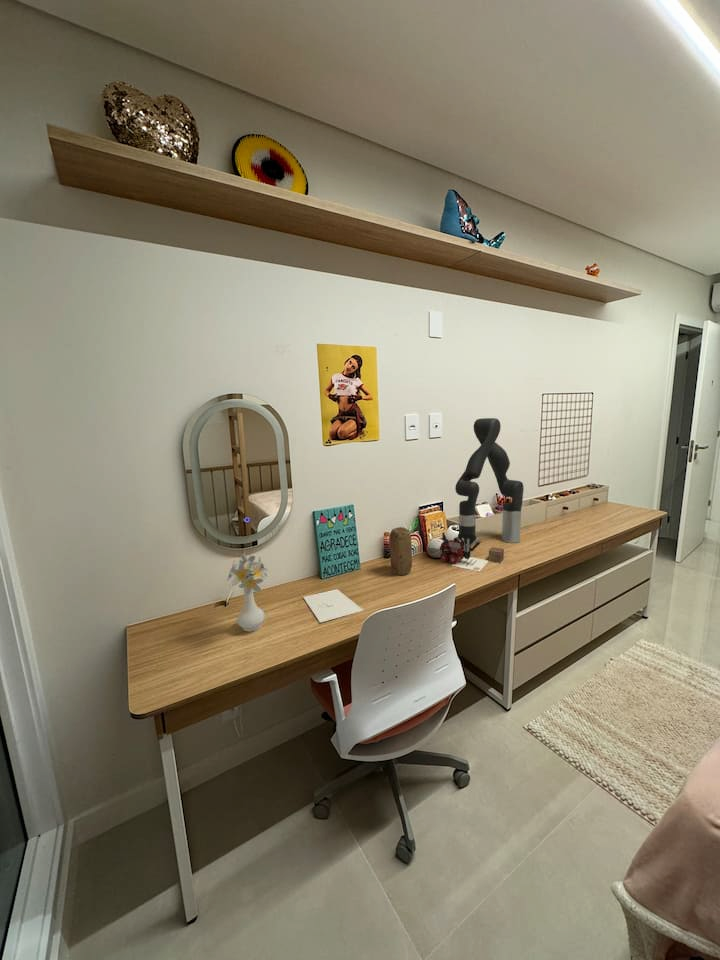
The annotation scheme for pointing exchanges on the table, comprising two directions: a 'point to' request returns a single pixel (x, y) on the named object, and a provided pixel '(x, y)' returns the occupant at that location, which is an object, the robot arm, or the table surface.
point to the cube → (496, 554)
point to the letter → (471, 564)
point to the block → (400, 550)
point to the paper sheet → (331, 605)
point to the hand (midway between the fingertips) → (466, 558)
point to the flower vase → (249, 591)
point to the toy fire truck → (451, 551)
